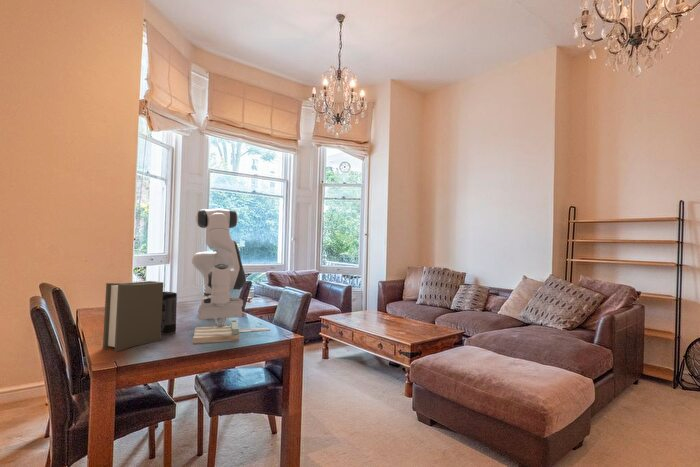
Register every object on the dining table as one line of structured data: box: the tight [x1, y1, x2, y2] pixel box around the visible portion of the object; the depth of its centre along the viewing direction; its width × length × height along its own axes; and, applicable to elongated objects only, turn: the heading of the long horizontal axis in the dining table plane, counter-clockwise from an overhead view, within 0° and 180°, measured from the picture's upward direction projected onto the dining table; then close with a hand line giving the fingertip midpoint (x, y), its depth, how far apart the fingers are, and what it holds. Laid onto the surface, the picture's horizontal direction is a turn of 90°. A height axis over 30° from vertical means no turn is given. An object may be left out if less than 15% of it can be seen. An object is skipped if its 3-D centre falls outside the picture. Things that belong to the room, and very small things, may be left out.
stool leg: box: [230, 319, 240, 335], centre depth 188 cm, size 18×3×3 cm, turn 19°
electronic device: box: [161, 291, 178, 336], centre depth 190 cm, size 9×6×20 cm, turn 62°
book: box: [102, 280, 164, 353], centre depth 171 cm, size 22×9×28 cm, turn 154°
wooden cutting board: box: [192, 325, 271, 344], centre depth 188 cm, size 20×36×2 cm, turn 109°
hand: (219, 327), depth 182 cm, fingers closed
